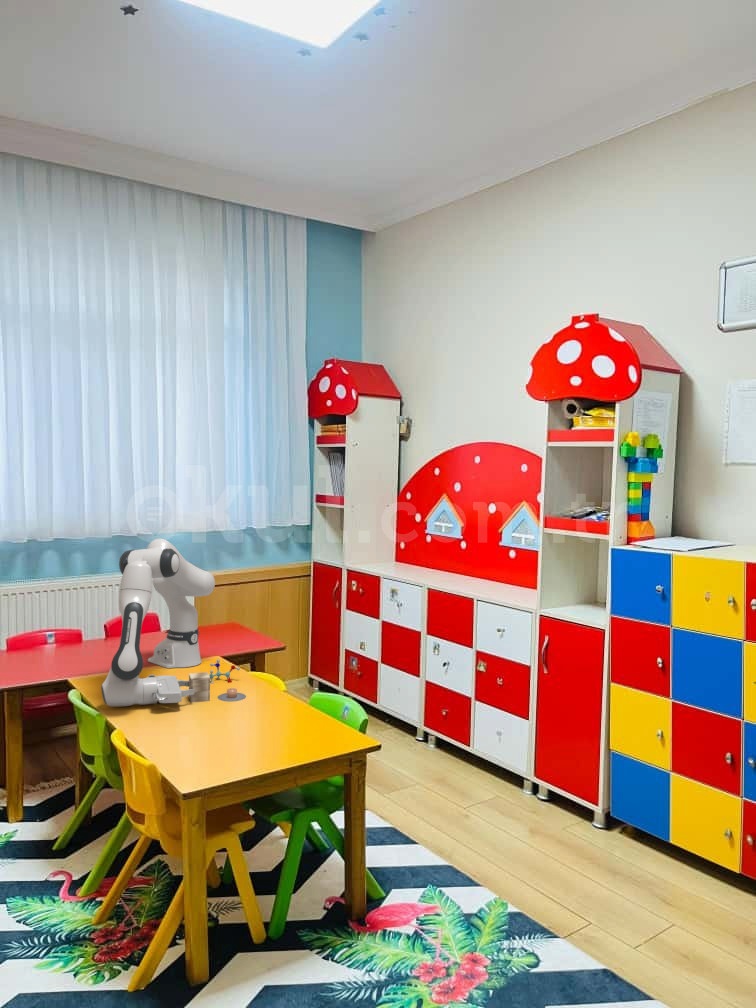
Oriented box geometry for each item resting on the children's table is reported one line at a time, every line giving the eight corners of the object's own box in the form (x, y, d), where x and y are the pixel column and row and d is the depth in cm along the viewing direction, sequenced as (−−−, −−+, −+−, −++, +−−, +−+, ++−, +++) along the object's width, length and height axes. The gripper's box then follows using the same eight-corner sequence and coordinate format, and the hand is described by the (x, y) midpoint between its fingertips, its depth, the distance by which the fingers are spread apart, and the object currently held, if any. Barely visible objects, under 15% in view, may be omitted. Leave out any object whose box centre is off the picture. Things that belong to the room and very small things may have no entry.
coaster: (211, 699, 277) (211, 698, 277) (230, 692, 285) (230, 690, 285) (233, 704, 272) (233, 703, 272) (251, 697, 280) (251, 695, 280)
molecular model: (211, 679, 289) (213, 653, 294) (200, 686, 295) (203, 660, 300) (239, 684, 294) (241, 658, 299) (228, 691, 301) (230, 666, 306)
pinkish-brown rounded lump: (224, 697, 278) (224, 690, 278) (231, 694, 281) (231, 687, 281) (232, 699, 276) (232, 692, 276) (239, 696, 279) (239, 689, 279)
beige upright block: (191, 704, 271) (191, 678, 271) (188, 698, 277) (189, 673, 277) (209, 702, 274) (209, 677, 273) (207, 696, 280) (207, 672, 279)
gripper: (153, 690, 260) (196, 687, 265) (149, 673, 279) (189, 670, 284) (153, 709, 260) (196, 705, 265) (149, 690, 279) (189, 687, 284)
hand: (192, 687), depth 274 cm, fingers open, 8 cm apart
